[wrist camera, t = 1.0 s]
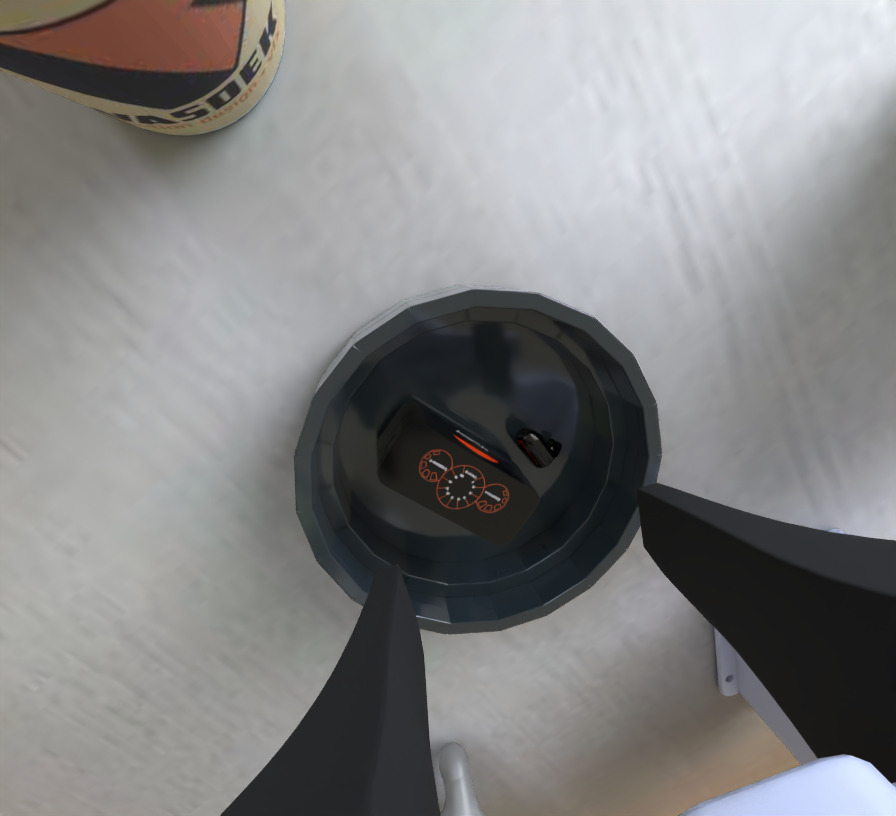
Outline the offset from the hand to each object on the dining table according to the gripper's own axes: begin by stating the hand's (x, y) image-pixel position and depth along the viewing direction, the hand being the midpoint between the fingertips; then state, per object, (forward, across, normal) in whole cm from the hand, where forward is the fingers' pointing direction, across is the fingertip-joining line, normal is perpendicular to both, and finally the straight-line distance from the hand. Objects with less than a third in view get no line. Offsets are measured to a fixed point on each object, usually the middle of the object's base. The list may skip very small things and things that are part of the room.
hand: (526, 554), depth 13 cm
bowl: (+8, 0, 0) cm, 8 cm away
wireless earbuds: (+8, 0, 0) cm, 8 cm away
